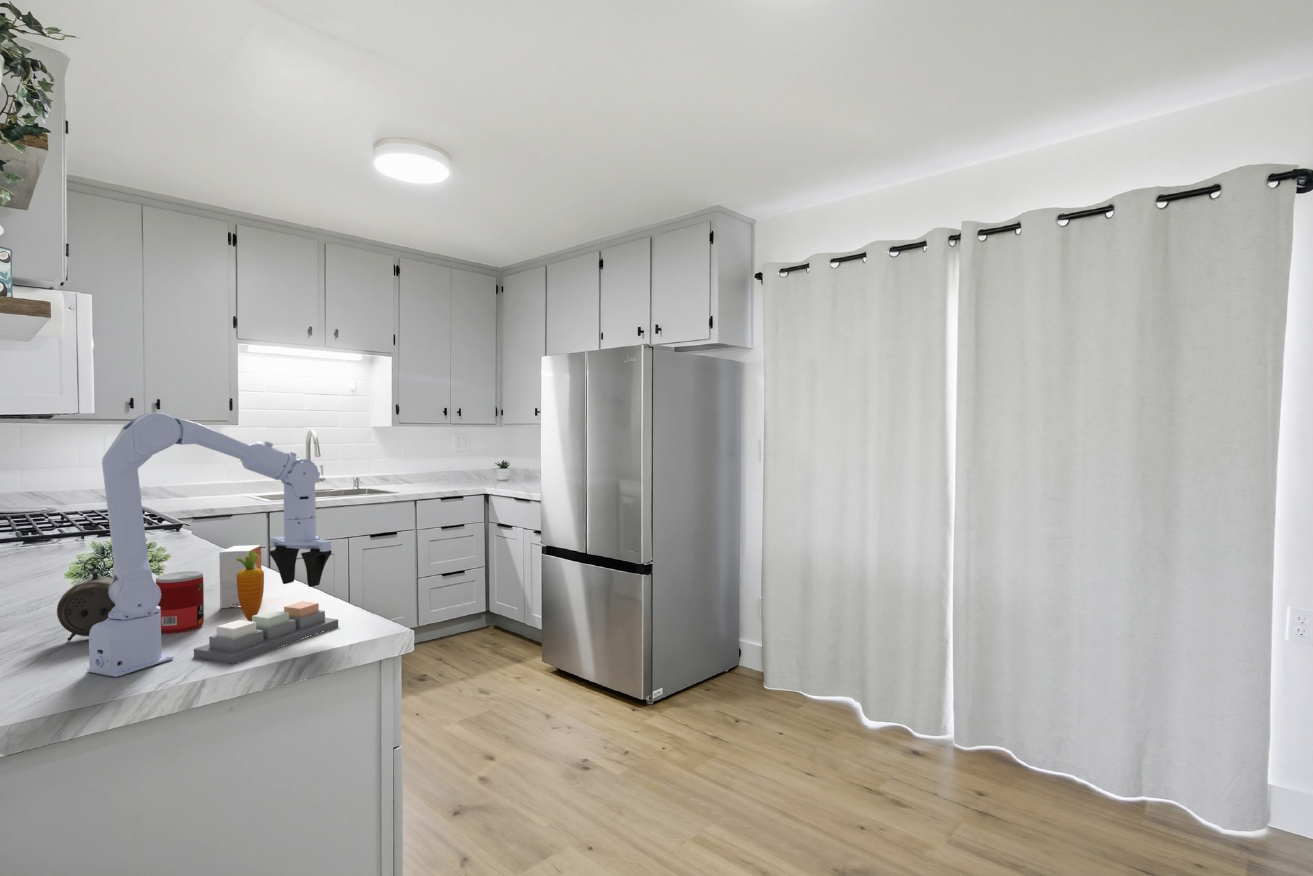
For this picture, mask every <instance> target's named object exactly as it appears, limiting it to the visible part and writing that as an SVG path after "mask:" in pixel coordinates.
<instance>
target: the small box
mask: <svg viewBox="0 0 1313 876" xmlns="http://www.w3.org/2000/svg"><path fill="white" fill-rule="evenodd" d="M249 551H254V554H257V555H258V557H257V559H256V562H255V564H254V568H259V569H262V545H261V544H255V545H250V544H249V545H233V546H231V547H228V548H225V549H224V550H222V551H220V552H219V605H220V606H219V609H230V608H229V607H234V608H239V607H238V606H240V602H239V598H238V591H237V573H238V572H239V571H241V570H243V569H246V568H245V566H244V565H243V564H242V563H241V562H240V561H238V560H236V559H237V558H238V557H239V558H242V559H243V560H244V561H246V559H245V556H248V557H249V559H250V556H249Z"/></svg>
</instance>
